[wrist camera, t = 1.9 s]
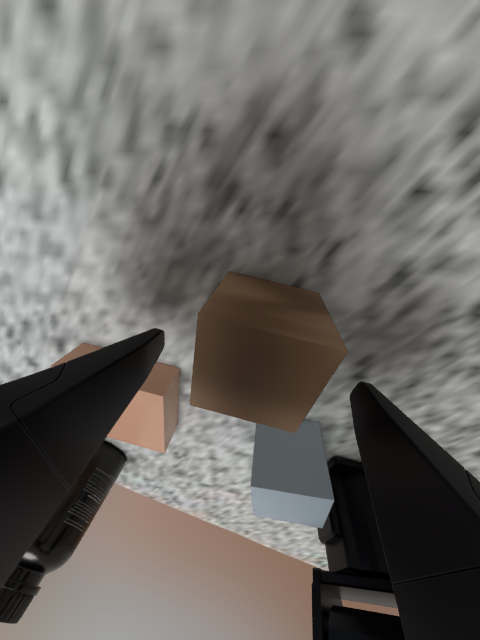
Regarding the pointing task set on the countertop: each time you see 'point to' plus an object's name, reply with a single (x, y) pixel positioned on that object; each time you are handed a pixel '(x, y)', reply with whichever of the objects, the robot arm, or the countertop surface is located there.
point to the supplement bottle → (61, 532)
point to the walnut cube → (263, 351)
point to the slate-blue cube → (291, 475)
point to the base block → (145, 406)
